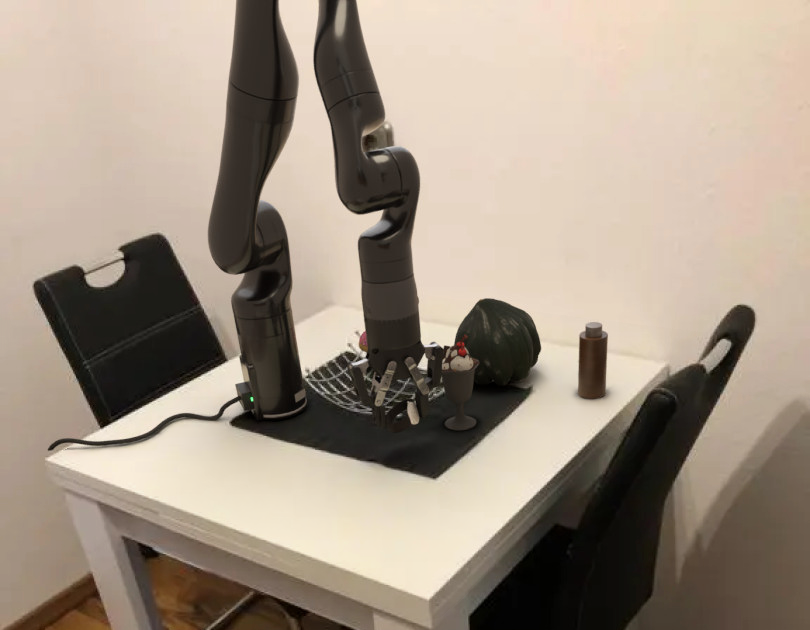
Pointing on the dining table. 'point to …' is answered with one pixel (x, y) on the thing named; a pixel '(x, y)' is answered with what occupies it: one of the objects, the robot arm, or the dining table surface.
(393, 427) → the watch
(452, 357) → the sundae
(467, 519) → the dining table surface
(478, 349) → the squash
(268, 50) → the robot arm
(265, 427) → the dining table surface
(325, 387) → the dining table surface
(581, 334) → the pepper mill
